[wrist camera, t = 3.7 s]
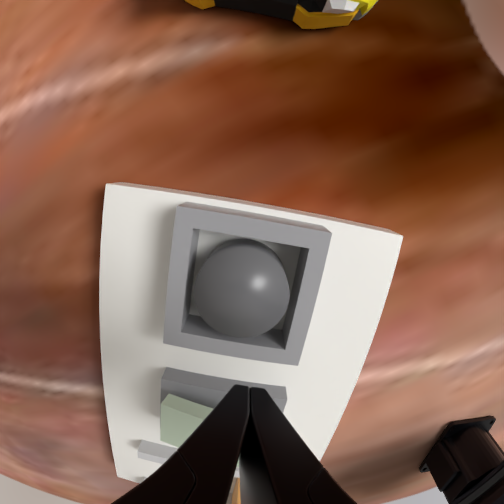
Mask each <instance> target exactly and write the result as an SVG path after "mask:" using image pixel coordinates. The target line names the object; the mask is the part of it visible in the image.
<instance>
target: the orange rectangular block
mask: <svg viewBox="0 0 504 504" xmlns="http://www.w3.org/2000/svg"><path fill="white" fill-rule="evenodd" d="M232 504H241V500H240V478H238V477H237V480H236V483H235V487H234V490H233V494H232Z"/></svg>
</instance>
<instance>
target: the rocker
mask: <svg viewBox="0 0 504 504" xmlns="http://www.w3.org/2000/svg"><path fill="white" fill-rule="evenodd" d="M212 410H213V408H210V407H207V406H204V405H201V404H198V403H195V402H192V401H189V400H186V399H183V398H180V397H178V396H175V395H172V394H168V395H167V397H166V398H165V399H164V400H163V402H162V403H161V423H160V441H163V442H165V443H168V444H170V445H173V446H176V447H178V448H179V447H180V446H181V445H182V444H183V443H184V441H185V440H186V439H187V438H188V437H189V436H190V435H191V434H192V433H193V432H194V430H195V429H196V428H197V427H198V426H199V425H200V424H201V423H202V421H203V420H204V419H205V418H206V417H207V416H208V415H209V413H210V412H211V411H212ZM237 467H239V460H238V463H237Z"/></svg>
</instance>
